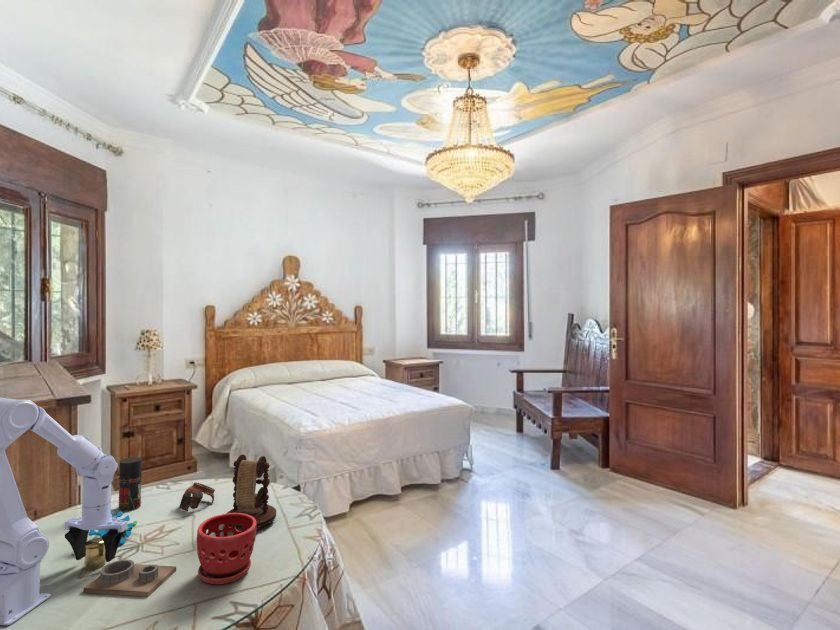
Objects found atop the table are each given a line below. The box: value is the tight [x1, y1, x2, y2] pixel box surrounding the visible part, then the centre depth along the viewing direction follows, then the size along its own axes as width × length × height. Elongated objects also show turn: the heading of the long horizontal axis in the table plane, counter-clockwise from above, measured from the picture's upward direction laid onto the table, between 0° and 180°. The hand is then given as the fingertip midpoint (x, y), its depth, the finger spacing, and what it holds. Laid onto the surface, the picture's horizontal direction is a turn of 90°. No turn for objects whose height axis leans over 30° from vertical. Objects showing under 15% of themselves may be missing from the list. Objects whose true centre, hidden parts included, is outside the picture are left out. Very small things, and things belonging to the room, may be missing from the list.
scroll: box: [225, 453, 277, 533], centre depth 133 cm, size 15×15×20 cm
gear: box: [88, 510, 138, 545], centre depth 121 cm, size 11×6×10 cm
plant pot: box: [196, 512, 257, 585], centre depth 107 cm, size 13×13×12 cm
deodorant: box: [118, 457, 143, 513], centre depth 142 cm, size 6×6×15 cm
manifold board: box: [83, 559, 177, 597], centre depth 103 cm, size 10×15×3 cm, turn 86°
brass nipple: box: [84, 536, 106, 572], centre depth 109 cm, size 4×4×6 cm
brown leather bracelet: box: [179, 481, 216, 512], centre depth 144 cm, size 12×10×8 cm
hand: (95, 559), depth 109 cm, fingers open, 7 cm apart
